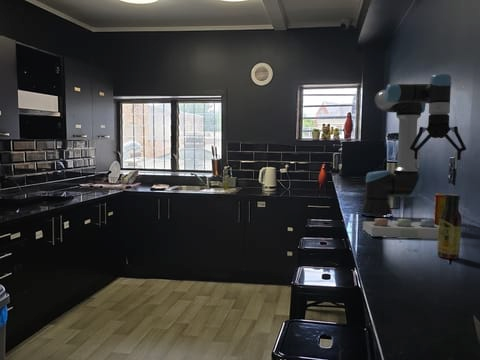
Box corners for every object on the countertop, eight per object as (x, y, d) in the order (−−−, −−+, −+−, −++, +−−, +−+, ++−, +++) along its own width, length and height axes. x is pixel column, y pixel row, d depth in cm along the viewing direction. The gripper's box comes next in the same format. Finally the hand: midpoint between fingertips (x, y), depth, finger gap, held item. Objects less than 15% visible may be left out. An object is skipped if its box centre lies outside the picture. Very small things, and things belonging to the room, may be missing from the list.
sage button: (395, 225, 175) (396, 218, 175) (408, 226, 175) (408, 218, 174) (399, 228, 170) (400, 220, 170) (412, 228, 170) (413, 220, 169)
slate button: (418, 226, 175) (418, 219, 174) (431, 226, 174) (431, 219, 174) (423, 228, 170) (423, 221, 169) (436, 229, 169) (436, 221, 169)
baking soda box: (451, 233, 179) (453, 194, 178) (434, 232, 181) (436, 193, 180) (449, 230, 187) (451, 192, 186) (433, 229, 190) (434, 192, 189)
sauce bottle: (433, 255, 140) (436, 193, 139) (451, 255, 141) (455, 193, 139) (444, 260, 133) (447, 195, 132) (464, 260, 134) (467, 195, 133)
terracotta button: (372, 225, 175) (373, 217, 175) (385, 225, 175) (385, 218, 175) (376, 227, 170) (376, 219, 170) (389, 227, 170) (389, 220, 170)
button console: (362, 231, 181) (362, 221, 181) (431, 232, 180) (431, 223, 180) (371, 237, 167) (372, 227, 167) (446, 239, 166) (447, 229, 166)
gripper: (404, 114, 175) (402, 167, 176) (475, 112, 164) (472, 169, 165) (406, 116, 182) (404, 167, 183) (474, 114, 170) (472, 169, 172)
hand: (436, 168), depth 174 cm, fingers open, 13 cm apart
